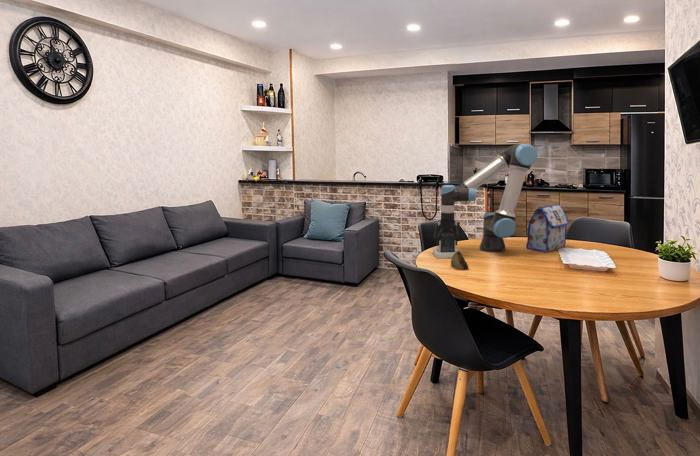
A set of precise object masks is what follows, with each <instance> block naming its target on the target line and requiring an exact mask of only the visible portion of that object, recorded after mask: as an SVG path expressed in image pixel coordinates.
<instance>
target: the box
mask: <svg viewBox="0 0 700 456" xmlns="http://www.w3.org/2000/svg"><path fill="white" fill-rule="evenodd" d="M455 234H456V233H455ZM455 234H453V233H452V232H443V233H442V234H441V237H440V240H441V253H442V252H455V248H456V246H455Z"/></svg>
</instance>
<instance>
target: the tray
mask: <svg viewBox="0 0 700 456" xmlns="http://www.w3.org/2000/svg"><path fill="white" fill-rule="evenodd" d="M458 251H460V250H459V248H457V247H455V252H442V253H441V252H439V251H438V248H437V247H435V248H434V247H433V248H432V254H433V256H434V257H435V258H436V259H438V260H440V259H446V260H447V259H452V257H453V255H454V254H455V253H456V252H458ZM461 254H462V252H461ZM462 255H463V254H462Z"/></svg>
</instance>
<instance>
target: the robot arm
mask: <svg viewBox="0 0 700 456" xmlns="http://www.w3.org/2000/svg"><path fill="white" fill-rule="evenodd" d="M537 158H538V151H537V150H536V148H535V146H533V145H532V144H529V143H516V144H512V145H511V146H508V148H506V149H505V150H504V151H502V152H501V153H499V154H498V155H497V157H496V159H494V160H493V161H492V162H490V163H489V164H487V165H485V166H484V167H483V168H482V169H479V171H477V172H476V173H474V174H473V175H472V176H471V177H469V178H467V179H466V180H465V181H463V182H462V183H460V184H458V185H456V186H455V185H454V184H444V185H442V186H441V192H440V194H441V196H440V197H441V199H440V200H441V201H440V202H441V203H440V211H441V213H440V221H436V222H435V223H434V224H435V228H434V232H433V233H434V234H433V239H434V240H436V246H437V247H438V251H439V252H441V240H440V237H441V234H442V233H444V231H445V229H450V231H451V233H453V234H455V247H456V246H458V240H461V238H462V237H461V231H460V229H461V228H460V224H461V223H460V222H459V221H455V204H456V203H458V202H461V203H463V202H465V203H466V202H469V203H470V202H475V201H476V199H477V191H476V189H478V188H479V187H481V186H482V185H484V183H486V182H488V181H489V180H491V179H492V178H494V177H495V176H496V175H498V174H500V172H502V171H503V170H505V169H507V170H508V169H509V168H510V170H509V173H508V177H507V181H506V184H505V188H504V190H503V191H504V192H503V193H502V197H501V201H500V205H499V209H498V210H496V211H495V212H485V213H484V214H483V228H482V229H483V231H482V235H483V236H482V239H481V241H480V244H479V250H480V251H484V252H489V253H490V252H491V253H500V252H505V251H506V243H505V241H504V239H506V238H510V237H511V236H513V234H515V231H516V228H517V227H516V225H517V224H516V223H515V220H516V218H517V216H516V214H515V212H516V208H517V204H518V202H519V198H520V193H521V191H522V187H523V184H524V180H525V178H526V174H527V172H529V171H530V170H531V168H532V165H533V164H534V163H536V161H537ZM454 225H455V228H456V232H455V230H454V227H453V226H454ZM439 226H441V227H440V230H439ZM438 231H439V232H438Z"/></svg>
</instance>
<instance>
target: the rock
mask: <svg viewBox="0 0 700 456" xmlns="http://www.w3.org/2000/svg"><path fill="white" fill-rule="evenodd" d="M461 253H462V252H461V251H460V250H459V251H458V252H456V253H455V254H454V255H453V257H452V259H451V260H450V265H451V267H454V268H456V269H458V270H462V271H469V270H470V269H469V265H468V263H467V261H466V259H465V257H464V256H463V254H461Z"/></svg>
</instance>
